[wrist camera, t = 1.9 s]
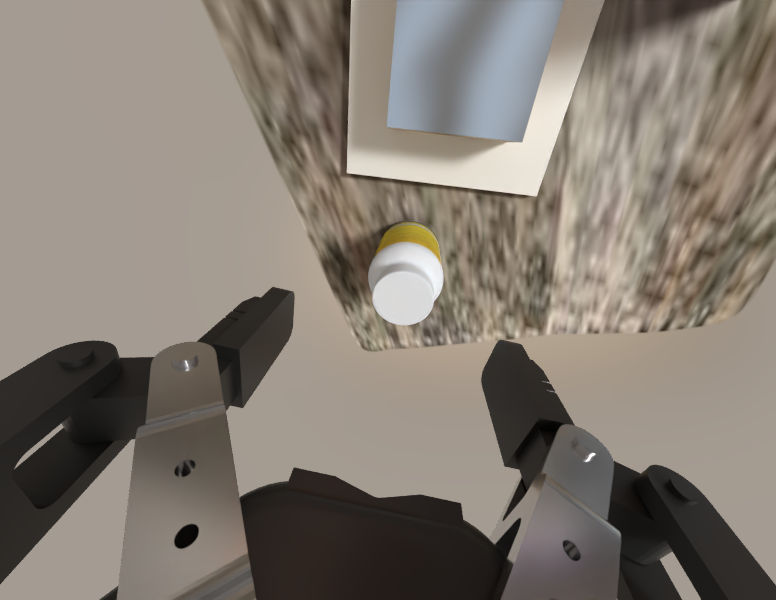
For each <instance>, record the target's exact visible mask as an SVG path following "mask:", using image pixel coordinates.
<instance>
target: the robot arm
mask: <svg viewBox="0 0 776 600" xmlns="http://www.w3.org/2000/svg"><path fill="white" fill-rule="evenodd" d="M293 314H294V292H293V291H288V290H284V289H280V288H275V287H272V288H271V289H270V290H269V291H268V292H267V293H266V294H265V295H264V296H262V297H261V298H260V297H253V298H250V299H248V300H246V301H243V302H242V303H241V304H239V305H238V306H237V307H236V308H235V309H234V310H233V312H230V313H229V314H228V315H227V316H226V318H223V319H222V320H221V321H220V322H219V323H218V324H216V325H215V326H214V327H213V328H212V329H211V330H210V331H208V332H207V333H206V334H205V335H204V336H203V337H202V338H200V339H199V340H198V341H197V342H184V343H180V344H176V345H173V346H170V347H168V348H166V349H164V350H162V351H161V352H159V353H158V354H157V355H156V356H155V357H138V358H119V355H118V352H117V349H116V347H115V346H114V345H113V344H111V343H108V342H104V341H84V342H78V343H73V344H69V345H66V346H63V347H60V348H57V349H55V350H53V351H51V352H49V353H47V354H45V355H43V356H42V357H40V358H38V359H37V360H35V361H33V362H32V363H30V364H28V365H27V366H25V367H23V368H22V369H20V370H18V371H16V372H15V373H13V374H11V375H10V376H8V377H7V378H5V379H3V380H1V381H0V584H1V583H2V582H3V581H4V579H5V578H6V577H7V576H8V575H9V574H10V573H11V572H12V571H13V569H14V568H15V567H16V566H17V565H18V564H19V563H20V562H21V561H22V560H23V558H24V557H25V556H26V555H27V554H28V553H29V552H30V551H31V550H32V549H33V547H34V546H35V545H36V544H37V543H38V542H39V541H40V540H41V539H42V537H43V536H44V535H45V534H46V533H47V532H48V531H49V529H51V528H52V526H53V525H54V524H55V523H56V522H57V521H58V520H59V519H60V518H61V516H62V515H63V514H64V513H65V512H66V511H67V510H68V509H69V508H70V507H71V505H72V504H73V503H74V502H75V501H76V500H77V499H78V498H79V496H80V495H81V494H82V493H83V492H84V491H85V490H86V489H87V488H88V487H89V486H90V484H91V483H92V482H93V481H94V480H95V479H96V478H97V477H98V475H99V474H100V473H101V472H102V471H103V470H104V469H105V468H106V466H107V465H108V464H109V463H110V462H111V461H112V460H113V459H114V458H115V457H116V456H117V455H118V453H119V452H120V451H121V450H122V449H123V448H124V447H125V446H126V445H127V443H128V442H129V441H130V440H131V439H135V447H134V455H133V465H132V473H131V481H130V490H129V498H128V508H127V516H126V524H125V533H124V541H123V550H122V559H121V567H120V576H119V584H118V586H117V587H116V588H115V589H114V590H112V591H110V592H109V593H108V594H106V595H105V596H104V597H102V598H101V599H100V600H617V599H618V600H682V599H681V597H680V595H679V593H678V592H677V590H676V588H675V586H674V585H673V583H672V581H671V579H670V577H669V575H668V574H667V572H666V570H665V568H664V566H663V565H662V563H661V561H660V559H661V558H662V557H664V556H665V555H667V554H669V553H670V552H672V551H673V553H674V554H675V556H676V558H677V559H678V561H679V563H680V564H681V566H682V568H683V569H684V571H685V572H686V574H687V576H688V577H689V579H690V581H691V582H692V584H693V586H694V588H695V589H696V591H697V592H698V594H699V596H700V598H701V600H776V585H775V584H774V583H773V581H772V580H771V579H770V577H769V576H768V575H767V574H766V573H765V571H764V570H763V569H762V567H761V566H760V565H759V564H758V562H757V561H756V560H755V559H754V557H753V556H752V555H751V553H750V552H749V551H748V550H747V549H746V547H745V546H744V545H743V543H742V542H741V541H740V540H739V538H738V537H737V536H736V535H735V533H734V532H733V531H732V529H731V528H730V527H729V526H728V524H727V523H726V522H725V521H724V519H723V518H722V517H721V516H720V514H719V513H718V512H717V511H716V509H715V508H714V507H713V505H712V504H711V503H710V502H709V500H707V498H706V497H705V496H704V495H703V494H702V493H701V492H700V491H699V490H698V489H697V488H696V487H695V486H694V485H693V484H692V483H690V482H689V481H688V480H686V479H685V478H684V477H682V476H681V475H679V474H678V473H676V472H674V471H672V470H670V469H668V468H666V467H663V466H659V465H651V466H649V467H648V468H647V469H646V470H645V471H644V472H642V473H641V474H640V473H638V472H636V471H634V470H632V469H630V468H628V467H625V466H623V465H621V464H619V463H617V462H615V461H613V458H612V456H611V454H610V453H609V451H608V450H607V448H606V447H605V446H604V445H603V444H602V443H601V442H600V441H599V440H598V439H597V438H596V437H594V436H593V435H592V434H590V433H589V432H587V431H586V430H584V429H582V428H580V427H577V426H575V425H574V423H573V422H572V420H571V418H570V416H569V415H568V413H567V411H566V409H565V408H564V406H563V404H562V403H561V401H560V399H559V397H558V396H557V394H556V393H555V390H554V389H553V387H552V385H551V384H549V380H548V378H547V376H546V375H545V373H544V371H543V370H542V369H541V368H540V367H539V366H538V365H537V364H536V363H535V362H534V361H533V360H530V359H529V357H528V355H527V353H526V351H525V350H524V348H523V346H522V345H521V344H518V343H514V342H509V341H505V340H499V341H498V342H497V344H496V346H495V347H494V349H493V351H492V354H491V356H490V357H489V359H488V361H487V363H486V365H485V367H484V370H483V373H482V379H481V382H482V387H483V391H484V394H485V398H486V401H487V405H488V409H489V412H490V416H491V419H492V423H493V427H494V430H495V433H496V437H497V441H498V444H499V448H500V452H501V455H502V459H503V462H504V466H505V467H511V468H515V469H519V470H520V473H521V475H522V476H521V477H520V478H519V480H518V481H517V483H516V485H515V487H514V489H513V491H512V493H511V495H510V497H509V500H508V502H507V504H506V506H505V508H504V510H503V512H502V515H501V517H500V519H499V521H498V523H497V525H496V527H495V529H494V531H493V532H492V534H491V536H490V537H489V538H487V537H486V536H485V535H484V534H483V533H482V532H481V531H479V530H478V529H477V528H476V527H474V526H473V525H471V524H470V523H468V522H467V521H465V520H463V515H462V507H461V503H457V502H452V501H448V500H442V499H439V498H434V497H429V496H424V495H410V496H398V497H386V498H376V497H373V496H371V495H369V494H368V493H366V492H364V491H362V490H360V489H358V488H356V487H354V486H352V485H350V484H349V483H347V482H345V481H343V480H341V479H339V478H337V477H336V476H331V475H327V474H321V473H317V472H312V471H307V470H303V469H299V468H294V469H293V471H292V474H291V476H290V479H289V481H286V482H278V483H273V484H269V485H266V486H263V487H260V488H257V489H255V490H253V491H250V492H248V493H246V494H244V495H243V496H241V497H239V492H238V485H237V479H236V473H235V466H234V460H233V454H232V448H231V441H230V434H229V428H228V422H227V415H226V410H227V409H228V408H229V406H230V405H231V406H236V407H240V408H243V407H244V406H245V404H246V403H247V401H248V400H249V398H250V397H251V395H252V394H253V392H254V391H255V389H256V388H257V386H258V385H259V383H260V382H261V380H262V379H263V377H264V376H265V374H266V373H267V371H268V370H269V368H270V367H271V365H272V364H273V362H274V361H275V360H276V358H277V357H278V355H279V353H280V352H281V351H282V349H283V347H284V346H285V345H286V343H287V342H288V340H289V338H290V335H291V332H292V328H293ZM61 423H62V425H63V427H64V428H63V429H62V430H60V431H59V432H58V433H57V434H56V435H55V436H53V437H52V438H51V439H50V440H49V441H47V442H46V443H45V444H44V445H43V446H41V448H39V449H38V450H37V451H36V452H34V453H33V454H32V455H31V456H30V457H29V458H27V459H26V460H25V461H24V462H23V463H21V464H20V465H19V466H18V467H17V468H15V466H16V464H17V463H18V461H19V460H20V459H21V457H22V456H23V455H24V454H25V453H26V452H27V451H28V450H29V449H31V448H32V447H33V446H34V445H36V444H37V443H38V442H39V441H40V440H42V439H43V438H44V437H45V436H46V435H48V434H49V433H50V432H51V431H52V430H53V429H55V428H56V427H57V426H58V425H60V424H61ZM14 468H15V469H14Z"/></svg>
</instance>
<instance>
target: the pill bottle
mask: <svg viewBox="0 0 776 600" xmlns="http://www.w3.org/2000/svg"><path fill="white" fill-rule="evenodd" d="M368 282H369V287H370V290H371V292H372V301H373V305H374V307H375V309H376V311H377V312H378V314H379V315H380V316H381V317H382V318H384V319H385V320H387V321H389V322H391V323H393V324H397V325H411V324H415V323H417V322H420V321H421V320H423V319H424V318H425V317H426V316H427V315H428V314H429V313H430V311H431V309H432V307H433V303H434V301H435V300H436V298H437V297H438V295H439V294H440V292H441V289H442V285H443V270H442V264H441V257H440V251H439V244H438V240H437V238H436V236H435V234H434V232H433V231H432V230H431V229H430V228H429V227H428V226H426V225H425V224H423V223H420V222H417V221H410V220H409V221H402V222H399V223H396V224H394V225H393V226H391V227H390V228H389V229H388V230H387V231H386V232H385V234H384V235H383V237H382V239H381V241H380V244H379V246H378V248H377V251H376V253H375V256H374V258H373V260H372V263H371V265H370V268H369V273H368Z"/></svg>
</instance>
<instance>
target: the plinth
mask: <svg viewBox="0 0 776 600" xmlns="http://www.w3.org/2000/svg"><path fill="white" fill-rule="evenodd" d="M563 3H564V0H397V7H396V19H395V31H394V43H393V55H392V67H391V79H390V91H389V103H388V115H387V127H388V128H390V129H394V130H402V131H411V132H420V133H429V134H437V135H446V136H455V137H464V138H472V139H481V140H490V141H499V142H523V138H524V135H525V131H526V128H527V125H528V121H529V118H530V115H531V111H532V108H533V104H534V101H535V98H536V94H537V91H538V88H539V84H540V81H541V77H542V74H543V71H544V67H545V64H546V61H547V57H548V54H549V50H550V47H551V44H552V40H553V37H554V34H555V30H556V27H557V23H558V20H559V17H560V13H561V10H562V7H563Z"/></svg>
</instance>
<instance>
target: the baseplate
mask: <svg viewBox="0 0 776 600" xmlns="http://www.w3.org/2000/svg"><path fill="white" fill-rule="evenodd" d="M604 1H605V0H564V3H563V7H562V10H561V13H560V17H559V20H558V23H557V27H556V30H555V34H554V37H553V40H552V44H551V47H550V50H549V54H548V57H547V61H546V64H545V67H544V71H543V74H542V77H541V81H540V84H539V88H538V91H537V94H536V98H535V101H534V104H533V108H532V111H531V115H530V118H529V121H528V125H527V128H526V131H525V135H524V138H523V142H499V141H490V140H481V139H472V138H464V137H455V136H446V135H437V134H429V133H420V132H411V131H402V130H394V129H390V128H388V127H387V115H388V103H389V91H390V79H391V67H392V55H393V43H394V31H395V19H396V7H397V0H351V26H350V66H349V106H348V146H347V173H350V174H358V175H367V176H375V177H383V178H391V179H399V180H407V181H415V182H424V183H432V184H440V185H448V186H456V187H464V188H472V189H480V190H489V191H497V192H505V193H513V194H521V195H529V196H537V193H538V191H539V188H540V185H541V182H542V179H543V176H544V173H545V170H546V168H547V165H548V162H549V159H550V156H551V153H552V150H553V147H554V145H555V142H556V139H557V136H558V133H559V130H560V127H561V124H562V122H563V119H564V116H565V113H566V110H567V107H568V104H569V101H570V99H571V96H572V93H573V90H574V87H575V84H576V81H577V78H578V76H579V73H580V70H581V67H582V64H583V61H584V58H585V55H586V53H587V50H588V47H589V44H590V41H591V38H592V35H593V32H594V30H595V27H596V24H597V21H598V18H599V15H600V12H601V9H602V7H603V4H604Z"/></svg>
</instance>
